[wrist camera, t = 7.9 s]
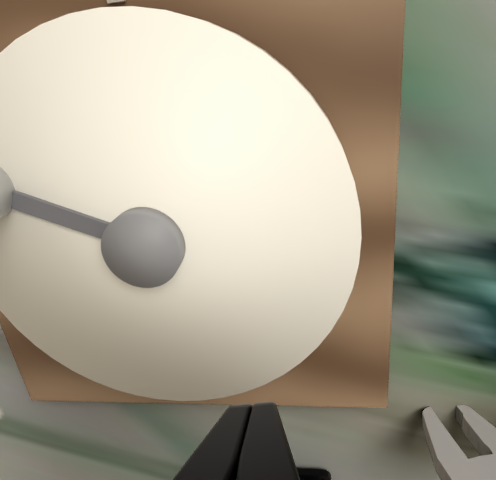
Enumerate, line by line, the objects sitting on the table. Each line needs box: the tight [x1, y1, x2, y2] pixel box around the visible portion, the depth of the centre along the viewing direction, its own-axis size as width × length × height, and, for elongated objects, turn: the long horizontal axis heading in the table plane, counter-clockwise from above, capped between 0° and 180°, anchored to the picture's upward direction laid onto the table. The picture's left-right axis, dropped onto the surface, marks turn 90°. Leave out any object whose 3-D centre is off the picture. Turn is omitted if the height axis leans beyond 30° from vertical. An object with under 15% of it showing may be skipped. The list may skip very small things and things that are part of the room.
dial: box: [0, 6, 362, 401], centre depth 14 cm, size 16×16×7 cm
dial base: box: [0, 0, 405, 408], centre depth 18 cm, size 20×19×2 cm
